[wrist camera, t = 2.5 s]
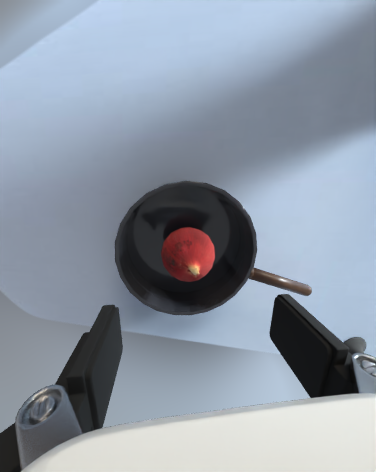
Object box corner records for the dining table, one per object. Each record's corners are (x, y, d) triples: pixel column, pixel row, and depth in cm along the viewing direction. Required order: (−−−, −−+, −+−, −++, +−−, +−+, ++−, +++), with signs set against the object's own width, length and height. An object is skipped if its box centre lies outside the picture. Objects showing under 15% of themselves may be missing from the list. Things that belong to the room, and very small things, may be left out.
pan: (145, 161, 21) (139, 156, 17) (260, 207, 24) (280, 212, 20) (111, 276, 24) (99, 296, 20) (215, 304, 27) (224, 327, 23)
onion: (158, 258, 24) (153, 294, 16) (168, 216, 23) (167, 233, 15) (200, 267, 25) (214, 304, 17) (212, 227, 24) (233, 248, 16)
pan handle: (240, 273, 23) (245, 279, 21) (245, 263, 22) (250, 268, 21) (303, 292, 24) (310, 299, 23) (308, 283, 24) (316, 289, 23)
